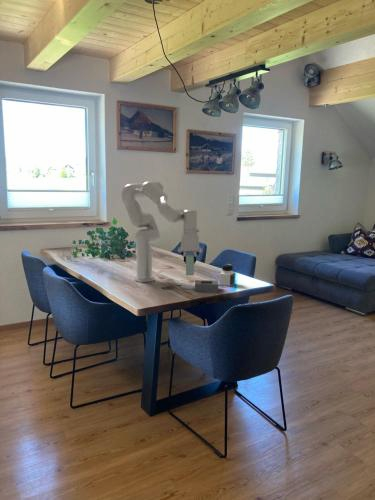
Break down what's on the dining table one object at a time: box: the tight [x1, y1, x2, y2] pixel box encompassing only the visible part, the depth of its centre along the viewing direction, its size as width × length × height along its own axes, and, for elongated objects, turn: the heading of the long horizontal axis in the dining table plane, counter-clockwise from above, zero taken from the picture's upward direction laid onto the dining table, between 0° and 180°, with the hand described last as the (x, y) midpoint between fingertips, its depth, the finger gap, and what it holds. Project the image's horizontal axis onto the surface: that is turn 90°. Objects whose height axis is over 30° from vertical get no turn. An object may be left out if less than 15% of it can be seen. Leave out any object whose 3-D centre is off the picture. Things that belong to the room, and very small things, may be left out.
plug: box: [185, 252, 195, 276], centre depth 228 cm, size 5×5×12 cm
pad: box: [182, 284, 195, 290], centre depth 230 cm, size 7×7×1 cm
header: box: [194, 279, 219, 293], centre depth 226 cm, size 9×13×4 cm
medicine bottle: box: [218, 263, 236, 287], centre depth 238 cm, size 7×7×12 cm
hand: (189, 262), depth 228 cm, fingers closed on plug, 4 cm apart
